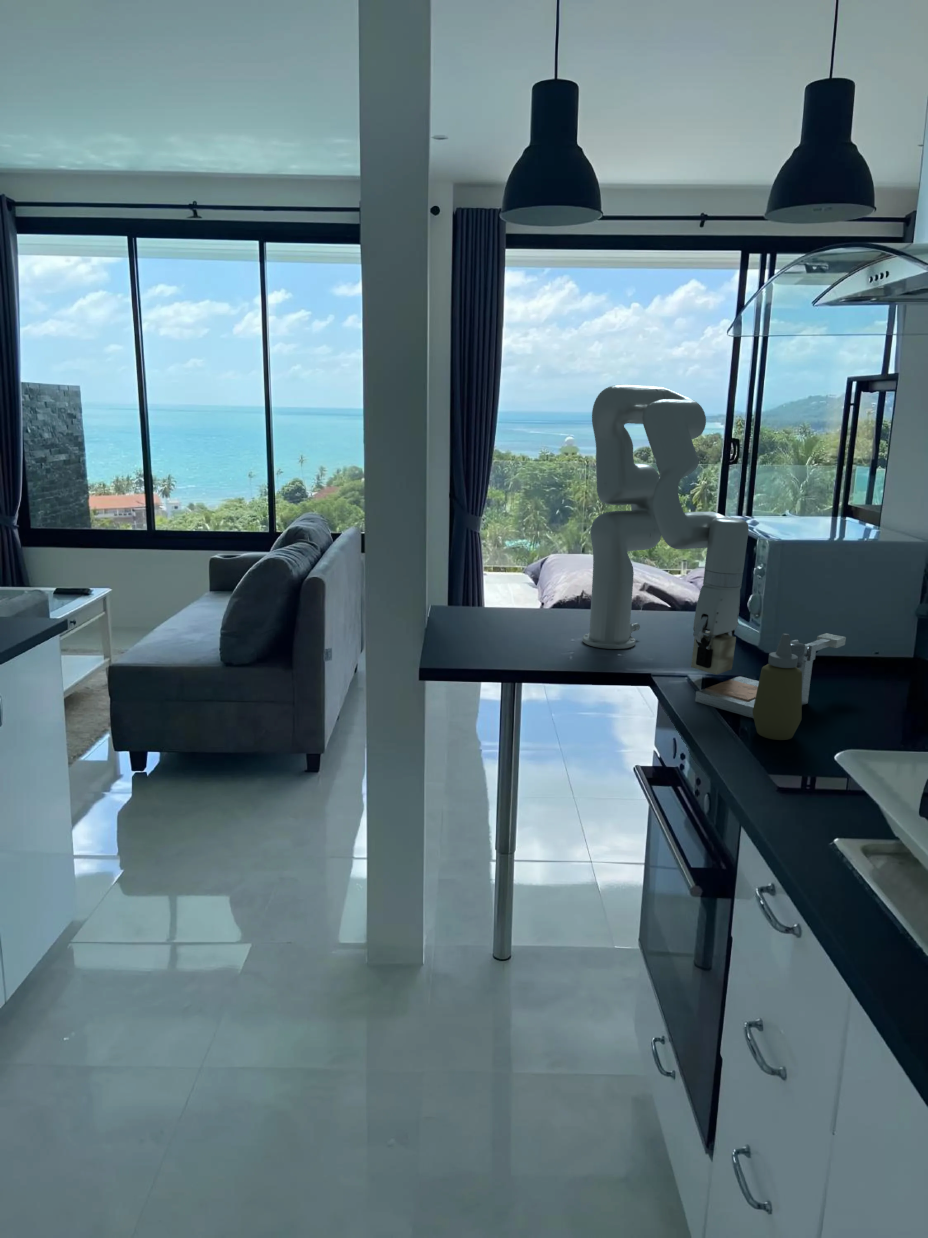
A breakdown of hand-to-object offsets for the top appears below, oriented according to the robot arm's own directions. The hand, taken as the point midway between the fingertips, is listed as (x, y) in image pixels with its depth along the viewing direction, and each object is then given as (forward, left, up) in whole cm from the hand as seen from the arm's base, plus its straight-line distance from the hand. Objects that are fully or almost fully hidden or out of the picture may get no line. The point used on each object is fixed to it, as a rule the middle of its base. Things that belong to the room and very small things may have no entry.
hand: (712, 662), depth 181 cm
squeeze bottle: (+20, +25, -4) cm, 32 cm away
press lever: (-3, +19, +5) cm, 20 cm away
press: (+7, +13, -4) cm, 15 cm away
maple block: (0, 0, -1) cm, 1 cm away
